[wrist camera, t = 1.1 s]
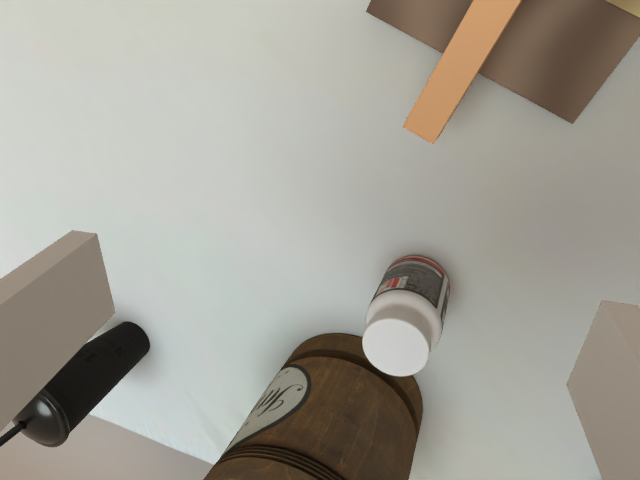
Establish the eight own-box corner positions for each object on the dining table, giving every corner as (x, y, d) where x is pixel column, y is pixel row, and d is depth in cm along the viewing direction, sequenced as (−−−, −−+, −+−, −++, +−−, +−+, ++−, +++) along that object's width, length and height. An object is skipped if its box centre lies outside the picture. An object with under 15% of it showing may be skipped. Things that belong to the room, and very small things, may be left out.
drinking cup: (163, 371, 55) (10, 514, 38) (114, 358, 58) (-51, 487, 40) (154, 317, 52) (-15, 446, 35) (103, 306, 55) (-79, 421, 37)
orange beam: (524, -136, 23) (529, -170, 19) (614, -93, 22) (636, -121, 19) (393, 107, 29) (380, 113, 26) (461, 145, 29) (456, 157, 25)
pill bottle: (373, 269, 40) (339, 326, 32) (429, 243, 38) (409, 298, 29) (405, 321, 41) (380, 391, 32) (462, 299, 38) (452, 369, 30)
